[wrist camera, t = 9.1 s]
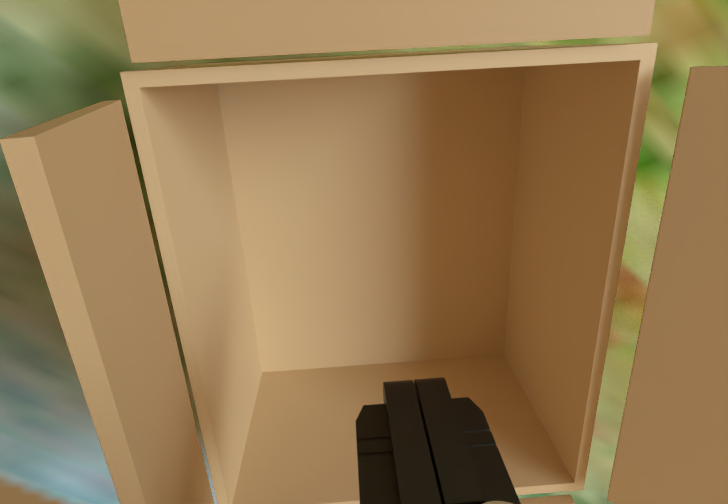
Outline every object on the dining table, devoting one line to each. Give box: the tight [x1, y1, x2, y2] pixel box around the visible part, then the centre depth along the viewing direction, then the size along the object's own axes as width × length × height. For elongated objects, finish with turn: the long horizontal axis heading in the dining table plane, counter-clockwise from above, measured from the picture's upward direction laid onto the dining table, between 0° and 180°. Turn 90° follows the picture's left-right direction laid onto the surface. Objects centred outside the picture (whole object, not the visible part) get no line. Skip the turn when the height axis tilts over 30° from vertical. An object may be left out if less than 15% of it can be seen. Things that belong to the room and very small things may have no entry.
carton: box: [118, 0, 658, 504], centre depth 20 cm, size 22×14×9 cm, turn 3°
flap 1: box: [0, 100, 214, 504], centre depth 12 cm, size 15×6×1 cm
